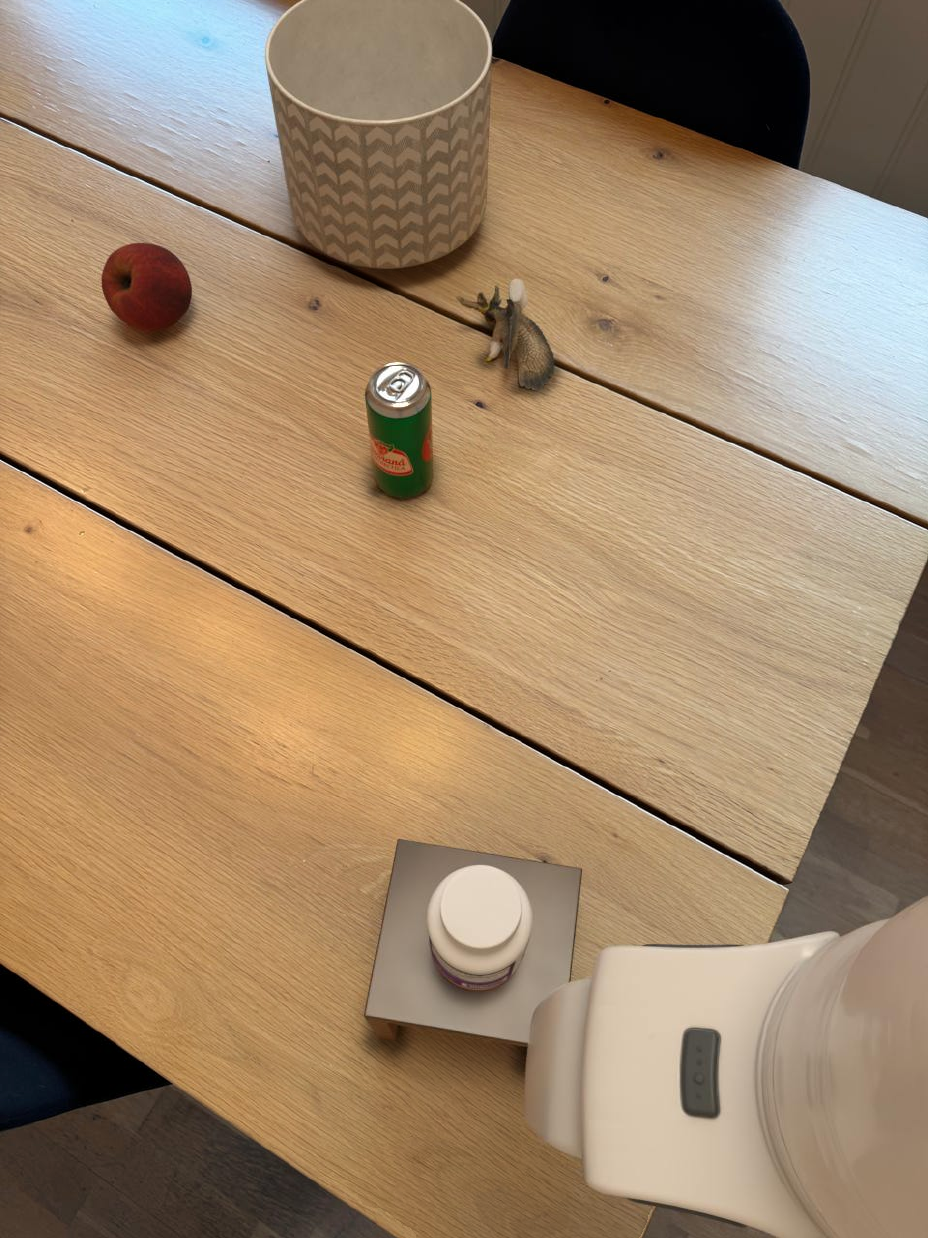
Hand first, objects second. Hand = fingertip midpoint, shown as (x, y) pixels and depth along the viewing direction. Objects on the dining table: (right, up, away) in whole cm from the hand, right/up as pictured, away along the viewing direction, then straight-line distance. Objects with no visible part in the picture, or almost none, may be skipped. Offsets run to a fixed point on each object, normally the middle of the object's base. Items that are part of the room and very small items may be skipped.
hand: (774, 1103), depth 40 cm
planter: (-20, +58, +61) cm, 87 cm away
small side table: (-12, -5, +28) cm, 31 cm away
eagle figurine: (-8, +43, +53) cm, 69 cm away
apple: (-41, +47, +55) cm, 83 cm away
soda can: (-17, +31, +47) cm, 59 cm away
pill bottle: (-12, +1, +18) cm, 21 cm away
